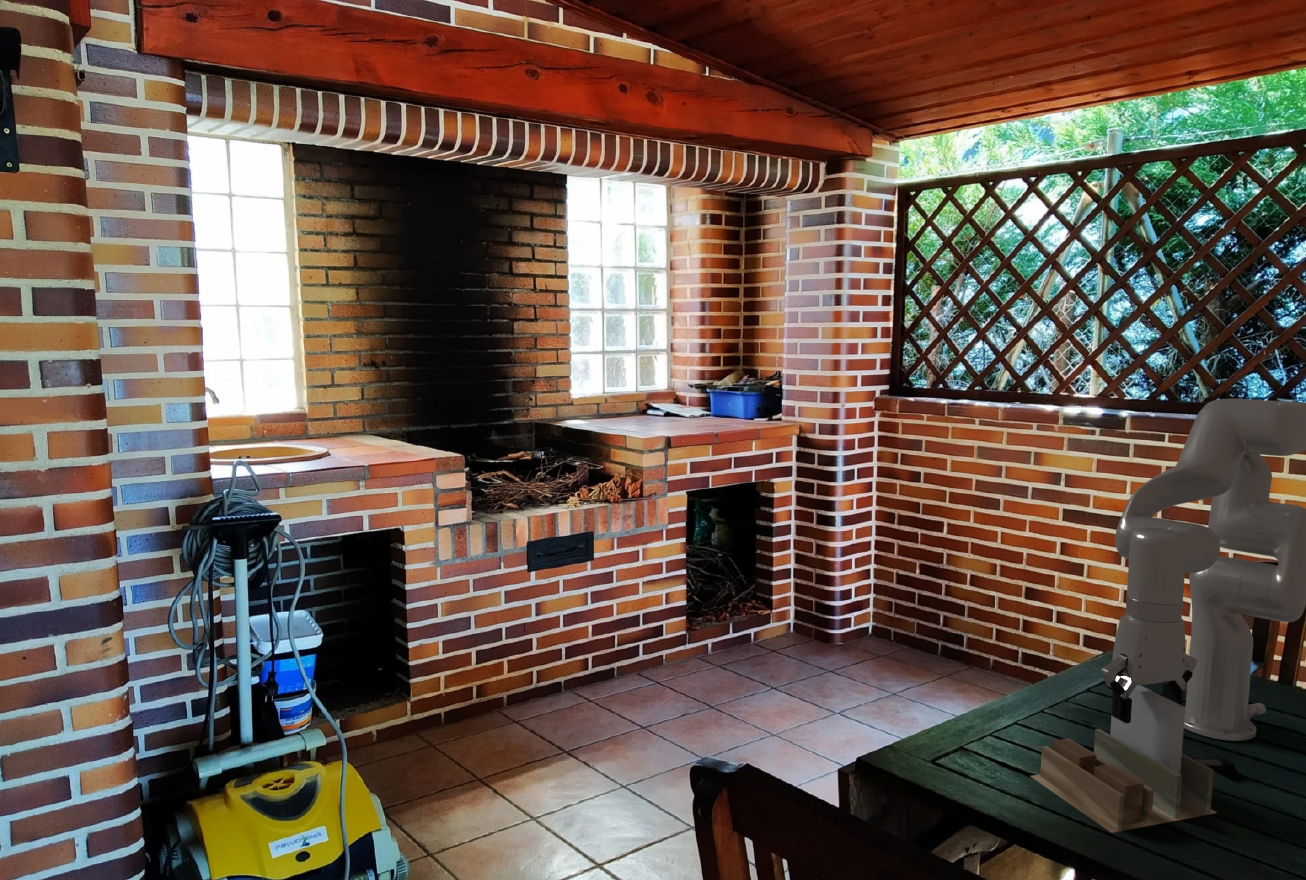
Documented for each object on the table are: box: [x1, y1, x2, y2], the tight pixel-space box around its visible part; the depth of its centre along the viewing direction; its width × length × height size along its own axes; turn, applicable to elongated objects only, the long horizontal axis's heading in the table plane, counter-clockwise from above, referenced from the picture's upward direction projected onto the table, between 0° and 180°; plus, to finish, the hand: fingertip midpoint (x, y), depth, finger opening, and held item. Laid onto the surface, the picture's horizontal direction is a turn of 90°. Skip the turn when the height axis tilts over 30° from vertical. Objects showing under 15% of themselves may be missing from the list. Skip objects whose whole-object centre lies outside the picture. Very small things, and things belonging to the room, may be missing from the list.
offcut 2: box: [1094, 764, 1144, 826], centre depth 133 cm, size 3×6×6 cm, turn 16°
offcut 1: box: [1051, 737, 1097, 776], centre depth 141 cm, size 3×6×6 cm, turn 16°
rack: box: [1030, 728, 1218, 834], centre depth 138 cm, size 19×17×8 cm
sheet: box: [1109, 681, 1186, 774], centre depth 141 cm, size 2×12×15 cm, turn 15°
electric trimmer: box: [1191, 756, 1241, 780], centre depth 148 cm, size 4×16×3 cm, turn 88°
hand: (1146, 715), depth 140 cm, fingers open, 9 cm apart
